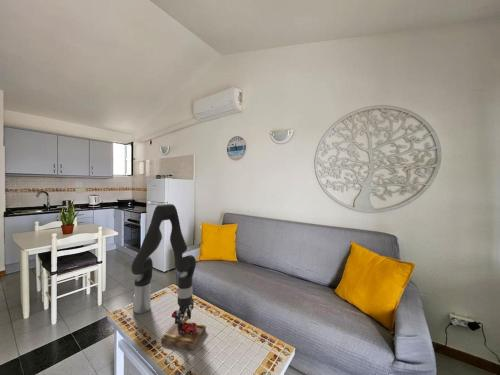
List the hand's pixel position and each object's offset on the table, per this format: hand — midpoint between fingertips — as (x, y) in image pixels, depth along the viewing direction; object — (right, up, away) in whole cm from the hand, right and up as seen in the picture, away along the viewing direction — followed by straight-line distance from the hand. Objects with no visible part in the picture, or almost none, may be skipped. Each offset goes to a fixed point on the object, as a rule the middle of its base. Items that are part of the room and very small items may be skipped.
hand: (184, 323), depth 110 cm
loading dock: (0, -7, 0) cm, 7 cm away
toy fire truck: (0, -4, 0) cm, 4 cm away
